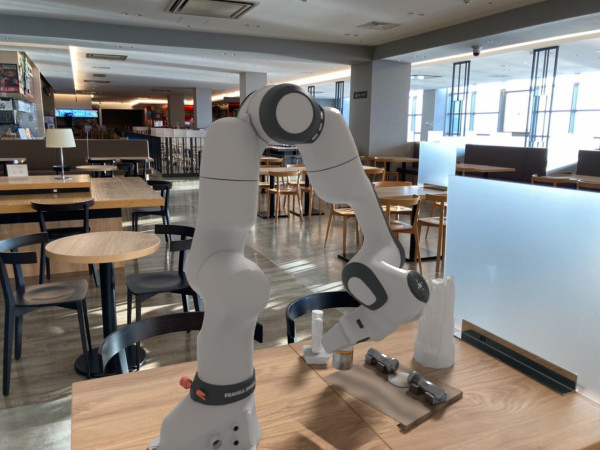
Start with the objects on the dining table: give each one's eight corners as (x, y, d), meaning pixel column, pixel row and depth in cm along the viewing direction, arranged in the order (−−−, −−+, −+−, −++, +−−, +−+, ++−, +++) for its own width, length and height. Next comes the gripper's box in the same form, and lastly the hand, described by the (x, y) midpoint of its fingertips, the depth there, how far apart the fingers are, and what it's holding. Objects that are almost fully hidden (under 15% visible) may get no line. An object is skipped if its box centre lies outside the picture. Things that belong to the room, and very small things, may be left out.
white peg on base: (327, 355, 136) (329, 304, 133) (331, 371, 127) (332, 317, 124) (302, 355, 136) (303, 304, 133) (303, 371, 127) (304, 317, 124)
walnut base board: (405, 430, 102) (406, 424, 102) (321, 382, 121) (321, 377, 121) (462, 395, 116) (463, 390, 116) (378, 357, 135) (379, 352, 135)
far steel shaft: (399, 372, 125) (400, 357, 124) (386, 376, 122) (387, 361, 122) (377, 358, 132) (377, 344, 131) (364, 361, 130) (364, 347, 129)
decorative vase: (406, 355, 137) (411, 270, 133) (435, 348, 142) (441, 266, 137) (431, 372, 127) (437, 281, 123) (462, 364, 132) (469, 276, 127)
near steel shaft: (405, 388, 116) (406, 373, 116) (419, 384, 119) (420, 368, 118) (433, 406, 109) (434, 390, 108) (447, 401, 111) (448, 385, 110)
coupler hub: (342, 372, 115) (344, 336, 114) (327, 364, 119) (329, 330, 117) (356, 366, 118) (359, 332, 117) (342, 359, 122) (344, 325, 121)
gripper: (396, 300, 117) (363, 326, 126) (336, 317, 104) (305, 344, 113) (410, 323, 115) (375, 347, 124) (350, 343, 102) (316, 369, 111)
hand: (341, 346), depth 118 cm, fingers closed on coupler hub, 5 cm apart
